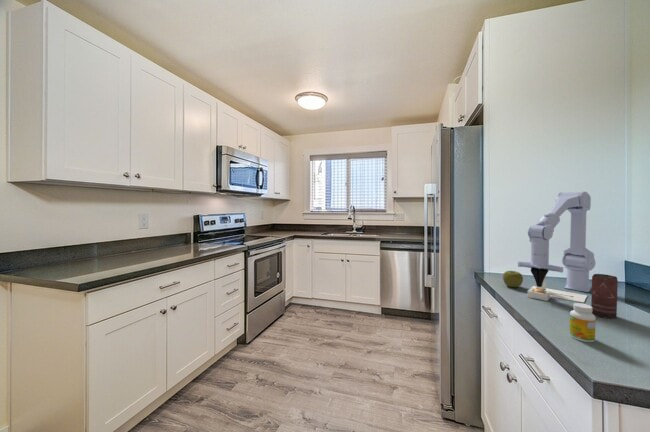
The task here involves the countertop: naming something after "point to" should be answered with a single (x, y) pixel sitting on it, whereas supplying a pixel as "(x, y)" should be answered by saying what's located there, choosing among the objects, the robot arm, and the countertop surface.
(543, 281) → the marker
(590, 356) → the countertop surface
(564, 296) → the paper
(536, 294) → the button housing
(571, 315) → the supplement bottle
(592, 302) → the can
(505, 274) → the apple
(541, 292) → the button
